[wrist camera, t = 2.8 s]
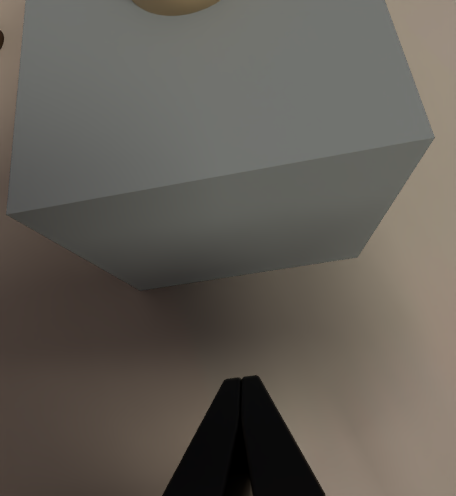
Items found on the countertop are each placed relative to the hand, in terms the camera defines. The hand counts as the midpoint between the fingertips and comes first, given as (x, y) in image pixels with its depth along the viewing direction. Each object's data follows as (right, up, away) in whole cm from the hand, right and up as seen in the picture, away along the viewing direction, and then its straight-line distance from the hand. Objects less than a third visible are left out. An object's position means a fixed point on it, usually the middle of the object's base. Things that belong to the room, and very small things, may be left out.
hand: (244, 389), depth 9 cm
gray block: (0, +9, +10) cm, 13 cm away
